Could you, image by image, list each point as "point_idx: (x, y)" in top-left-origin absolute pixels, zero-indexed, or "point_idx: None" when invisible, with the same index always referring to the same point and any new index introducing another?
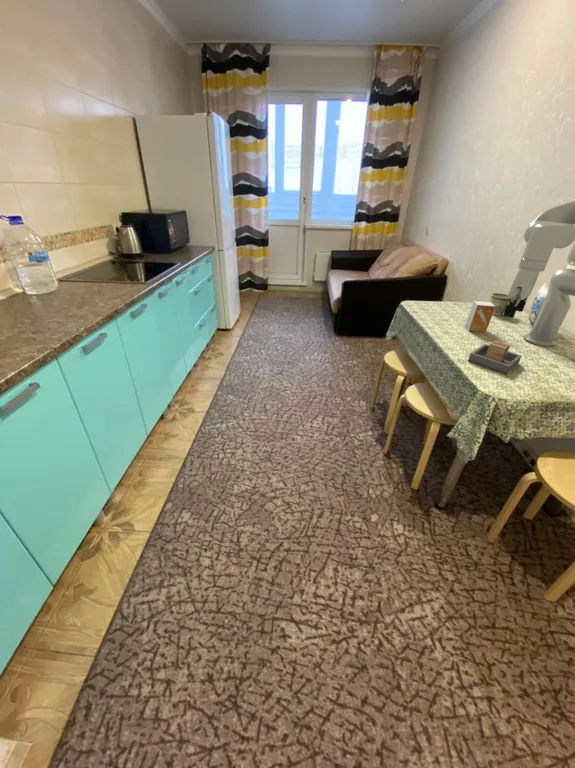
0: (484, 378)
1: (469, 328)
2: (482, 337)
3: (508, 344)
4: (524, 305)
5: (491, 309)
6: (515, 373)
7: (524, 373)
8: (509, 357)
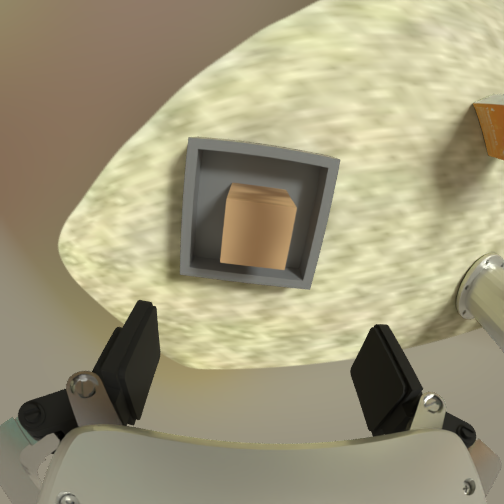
0: (114, 217)
1: (478, 103)
2: (453, 147)
3: (281, 262)
4: (364, 410)
5: None
6: None
7: (240, 296)
8: (305, 252)
